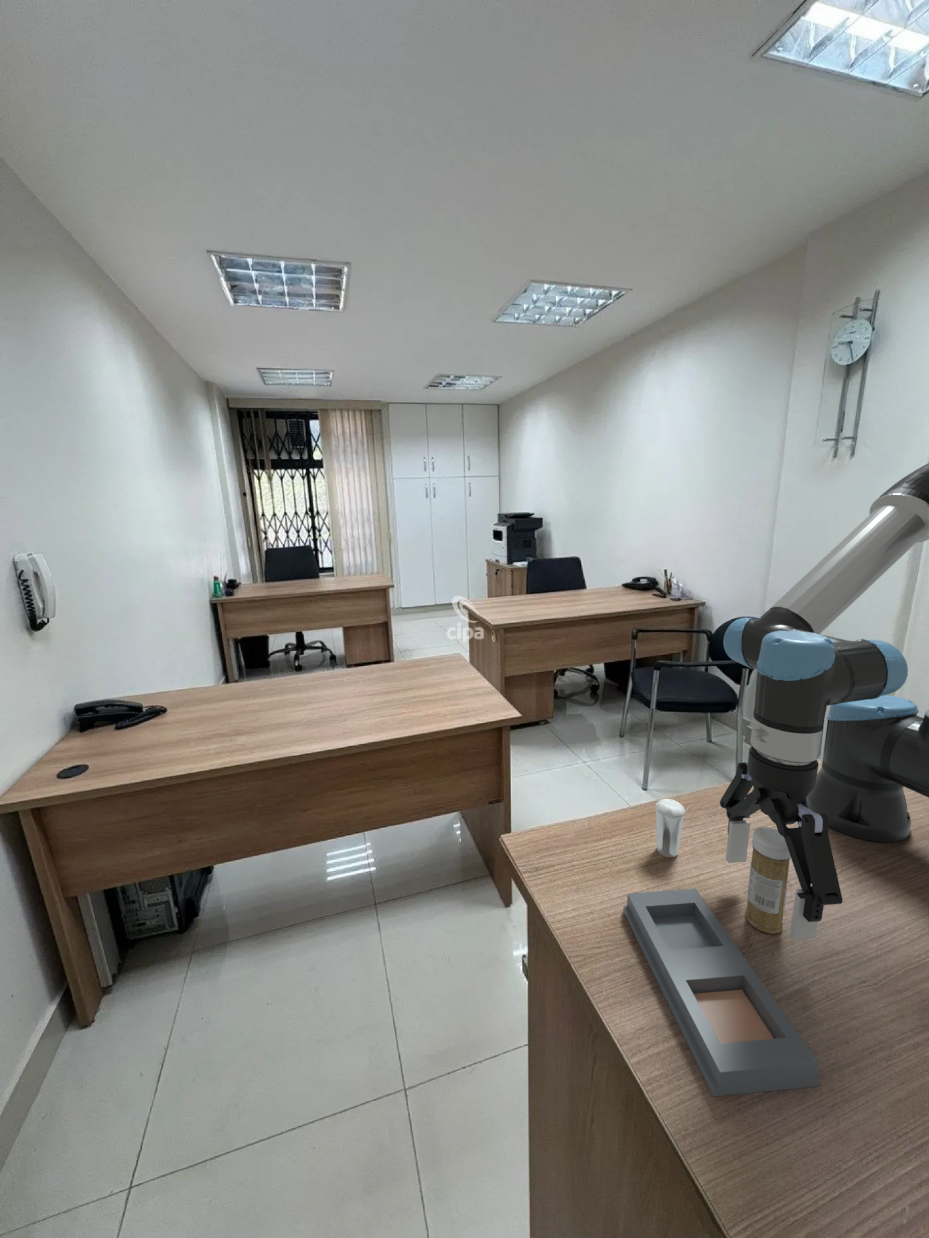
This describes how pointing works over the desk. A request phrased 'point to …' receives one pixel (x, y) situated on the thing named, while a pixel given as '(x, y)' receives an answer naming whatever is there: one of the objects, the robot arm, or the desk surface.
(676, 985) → the two-pocket grey tray
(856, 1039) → the desk surface
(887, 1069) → the desk surface
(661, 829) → the milkshake
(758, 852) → the sprinkles bottle
